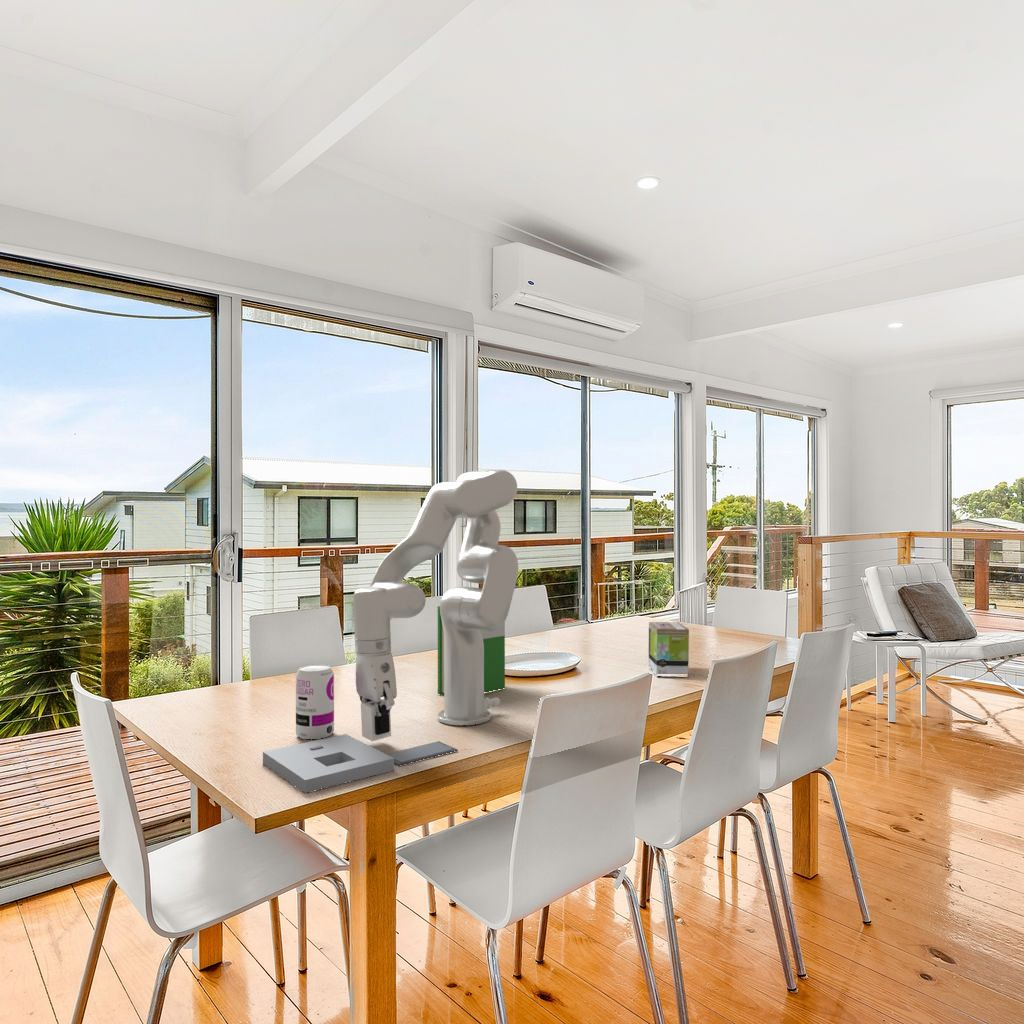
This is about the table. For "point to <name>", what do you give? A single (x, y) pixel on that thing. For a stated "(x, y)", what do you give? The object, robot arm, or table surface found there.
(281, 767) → the grey peg hole board
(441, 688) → the hardback book
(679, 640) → the tea box
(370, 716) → the charger block
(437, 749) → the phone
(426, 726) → the table surface
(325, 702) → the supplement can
